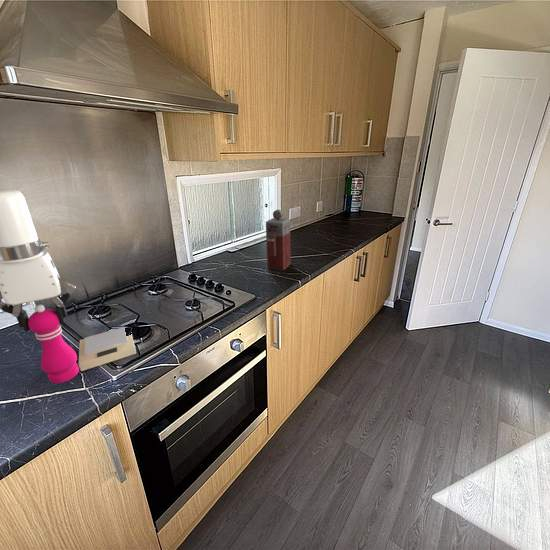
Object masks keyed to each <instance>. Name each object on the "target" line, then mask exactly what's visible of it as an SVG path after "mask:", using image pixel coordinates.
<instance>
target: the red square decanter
mask: <svg viewBox="0 0 550 550" xmlns="http://www.w3.org/2000/svg"><path fill="white" fill-rule="evenodd" d="M272 217H273V218H270V219H268V220H267V221H265V235H266V236H265V239H266V240H265V241H266V260H267V261H266V263H267V269H272V270H279V271H285V270H286V269H287V268H288V267H290V265H292V264H291V263H292V262H291V219H290V218H287V217H284V213H283V211H282V210H281V209H276V210H274V211H273V212H272ZM283 217H284V218H283Z"/></svg>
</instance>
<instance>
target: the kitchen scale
mask: <svg viewBox="0 0 550 550" xmlns="http://www.w3.org/2000/svg"><path fill="white" fill-rule="evenodd" d="M125 327H126V326H123V327H119V328H115V329H112V330H108V331H104V332H100V333H97V334H94V335H90V336H86V337H84V338H83V339H80V340H79V346H78V347H79V350H78V363H77V364H78V367H79V371H80V372H83V371H86V370H89V369H94V368H96V367H99V366H102V365H106V364H109V363H111V362H115V361H118V360H121V359H123V358H128V357H130V356H133V355H136V354H137V350H136V346H135V341H134V337H133V333H132V334H131V335H129V336H126V332H125Z"/></svg>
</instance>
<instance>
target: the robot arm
mask: <svg viewBox="0 0 550 550" xmlns="http://www.w3.org/2000/svg"><path fill="white" fill-rule="evenodd" d="M49 248H50V244H49V241H42V240H40V238H39V237H38V233H37V230H36V227H35V224H34V221H33V217H32V216H31V212H30V210H29V207H28V204H27V201H26V198H25V196H24V194H23V192H21V191H20V190H17V189H14V188H13V189H11V188H10V189H9V188H8V189H7V188H4V189H3V188H2V189H0V310H1V311H2V312H4V313H6V314H7V313H8V314H10V315H12V317H15V318H16V321H17V322H18V325H19V327H20V328H23V330H24V332H28V331H30V330H31V329H30V328H29V326H28V319H29V317H30V316H28V313H27V310H25V309H23V305H24V304H28V303H32V302H39V301H43V300H47V299H50V300H51V301H52V302H53V303H54V304H55V305H56V307H55V311H56V312H57V314H58V317H59V320H60V323H61V324H63V323H65V322H66V318H67V317H68V312H67V310H66V309H67V308H66V306H65V305H66V303H67V302H68V300H69V299H70V297H72V295H73V294H74V292H75V291H77V290H76V289H77V285H75V284H73V283H71V282H69V281H66V280H64V279H63V278H61V277H60V275H59V272H58V269H57V267H56V265H55V263H54V261H53V259H52V257H51V255H50V253H49V252H48V251H44V250H46V249H49ZM63 288H64V289H66V291H65V292H64V293H62V290H61V289H63ZM61 294H62V295H61ZM2 300H3V301H2Z"/></svg>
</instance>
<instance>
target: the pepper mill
mask: <svg viewBox="0 0 550 550" xmlns="http://www.w3.org/2000/svg"><path fill="white" fill-rule="evenodd" d="M28 317H29V319H28V326H29V328H30V329H29V330H30V331H31V332H33V333H34V336H35V338H36V340H38V341H39V342H40V344H41V348H42V354H41V357H40V366H41V370H42V371H43V372H44V373H46V374H47V377H48V380H49V382H50V383H51V384H62V383H63V384H64V383H66V382H68V381H70V380H72V379H73V378H75V377H76V376H77V375H78V373H80V367H79V365H78V364H79V363H77V360H78V355H77V353H76V350H75V349H73V347H72V346H71V345H69V344H68V343H66V341H65V340H64V338H63V336H62V333H63V329H62V326H61V325H60V323H61V322H60V320H59V317H58V314H57V311H56V310H55V309H51V308H45V306H44V305H43V304H38V305H37V304H36V306H35V308H34V312H33V313H32V314H31V315H30V316H28Z"/></svg>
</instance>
